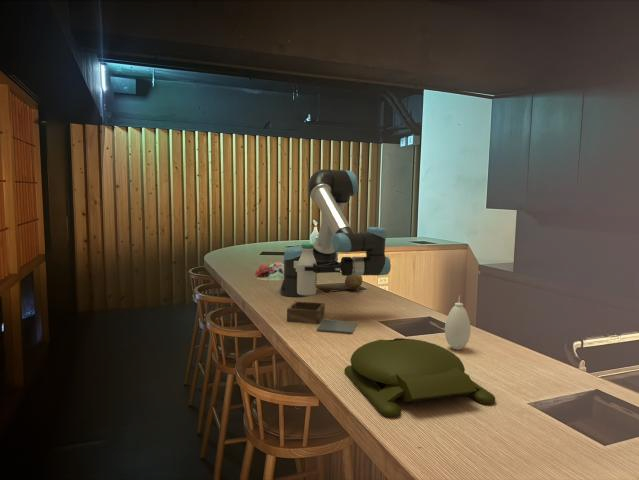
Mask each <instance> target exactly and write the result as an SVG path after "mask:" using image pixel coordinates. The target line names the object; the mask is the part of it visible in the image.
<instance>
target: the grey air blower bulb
mask: <svg viewBox="0 0 639 480" xmlns="http://www.w3.org/2000/svg"><path fill="white" fill-rule="evenodd" d="M444 335H445V336H444V337H445V340H446V342H447V344H448V345H449V346H450V347H451V348H452V349H453V350H455V349H456V351H458V350H462V349H463V348H465V347H466V346H467V344H468V343H469V340H470V337H471V322H470V317H469V315H468V312H467V310H466V308H465V307H464V304H463V303H462V302H461V296H460V295H458V301H457V302H455V303H454V306H453V307H452V308H451V309H450V311H449V313H448V314H447V318H446V320H445V325H444Z"/></svg>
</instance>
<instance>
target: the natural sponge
mask: <svg viewBox="0 0 639 480" xmlns="http://www.w3.org/2000/svg"><path fill="white" fill-rule="evenodd" d="M362 276H363V275H360V276H359V277H357V275H351V276H346V277H345V279H344V285H345V286H346V287H347V288H348V289H349V290H351V291H353V292H355V291H356V290H358V289H359V288H360V287H361V286H362V284H363V277H362Z"/></svg>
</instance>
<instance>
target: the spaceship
mask: <svg viewBox="0 0 639 480" xmlns="http://www.w3.org/2000/svg"><path fill="white" fill-rule="evenodd" d="M464 365H465V364H464V363H463V361H462V360H461V359H460V358H459V357H458V356H457V355H456V354H454V353H453V352H452V351H450V350H449V349H447V348H445V347H443V346H441V345H438V344H436V343H432V342H430V341H426V340H420V339H414V338H401V337H400V338H399V337H397V338H393V339H376V340H373V341H369V342H367V343H364V344H363V345H361V346H360V347H358V348H356V349H355V351H353V353H352V355H351V357H350V365H348V366H346V367H345V368H344V373H345V375H347V377H348V378H349V379H350V380H351V381H352V382H353V384H354V385H355V386H356V387H357V388H358V389H359V390H360V392H361V393H362V394H363V395H364V396H365V397H366V398H367V399H368V401H369V402H370V403H371V405H372V406H374V408H375V409H376V410H377V411H378V413H380V414H381V415H382V416H383V417H386V418H391V419H392V418H397V417H398V416H400V415H401V413H402V409H401V407H400V406H399V405H398V404H397V403H396V402H395V400H397V399H398V398H401V399H402V401H403V402H405V403H408V402H409V403H410V402H416V401H424V400H431V399H439V398H447V397H455V396H456V397H457V396H461V395H468V396H469V397H470V398H471V399H473V400H475V401H476V402H477V401H478V402H477V403H479V402H481V403H480V404H482V403H485V404H484V405H492V404H494V403H495V401H496V396H495V395H494V394H493V393H491V392H490V391H488V390H487V389H485V388H484V387H482V386H481V385H479V384H478V383H476V382H475V381H474V380H472V379H471V377H470V375H469V374H468V373H466V372H465V371H466V369H465V366H464ZM376 382H378V383H381V384H385V385H386V386H385V387H383V388H382V387H380V385H379V384H377V383H376ZM491 403H492V404H491Z"/></svg>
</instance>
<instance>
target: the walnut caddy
mask: <svg viewBox="0 0 639 480" xmlns="http://www.w3.org/2000/svg"><path fill="white" fill-rule="evenodd" d="M325 308H326V307H325V303H324V302H323V303H322V302H311V301H310V302H307V301H296V300H295V301H294V302H292V304H290V305H289V307H287V308H286V322H288V323H290V322H291V323H301V324H312V325H313V324H314V325H315V324H316V325H320V323H321V322H322V321H323V318H324V317H325V313H326V312H325Z"/></svg>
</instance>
